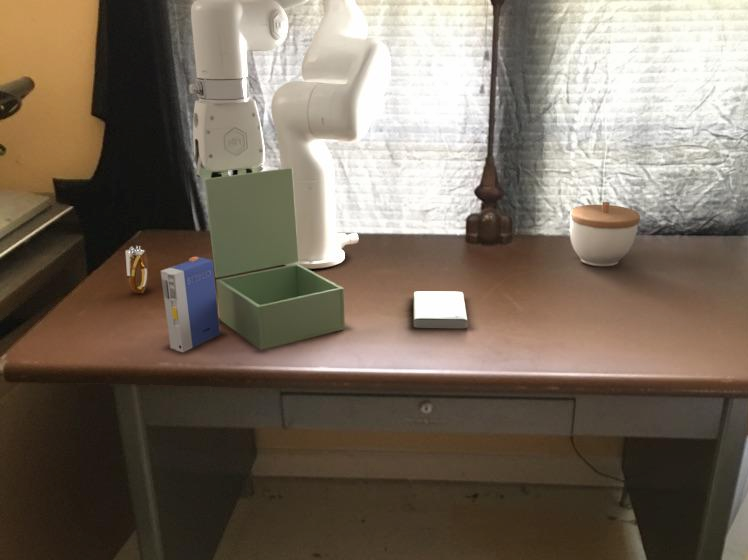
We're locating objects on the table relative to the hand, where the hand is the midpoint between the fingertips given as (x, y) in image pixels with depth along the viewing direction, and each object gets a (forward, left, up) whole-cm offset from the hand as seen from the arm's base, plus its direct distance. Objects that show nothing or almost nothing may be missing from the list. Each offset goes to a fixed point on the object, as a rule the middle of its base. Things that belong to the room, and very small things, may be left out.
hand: (233, 212), depth 134 cm
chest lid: (0, +7, 0) cm, 7 cm away
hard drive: (-23, +24, -15) cm, 37 cm away
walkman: (+13, +13, -15) cm, 24 cm away
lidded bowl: (-65, +19, -15) cm, 70 cm away
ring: (+13, -12, -15) cm, 23 cm away
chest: (0, +14, -15) cm, 20 cm away
